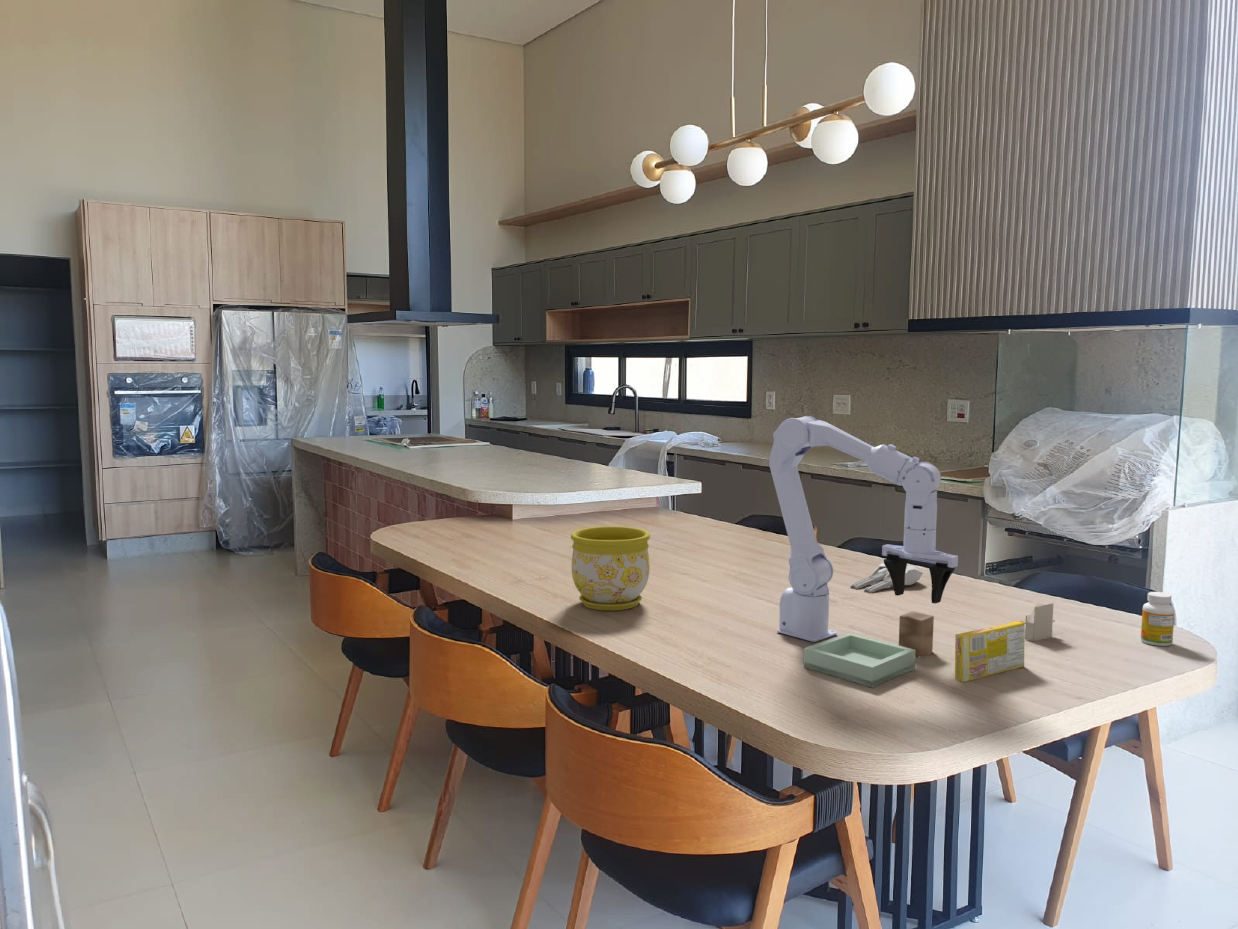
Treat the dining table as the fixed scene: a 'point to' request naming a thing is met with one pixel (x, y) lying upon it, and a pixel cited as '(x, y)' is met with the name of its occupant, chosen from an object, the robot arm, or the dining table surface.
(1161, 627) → the supplement bottle
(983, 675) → the candy box
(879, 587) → the turret
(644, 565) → the flowerpot
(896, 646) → the bin
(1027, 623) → the architectural model
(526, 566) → the dining table surface
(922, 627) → the walnut block
